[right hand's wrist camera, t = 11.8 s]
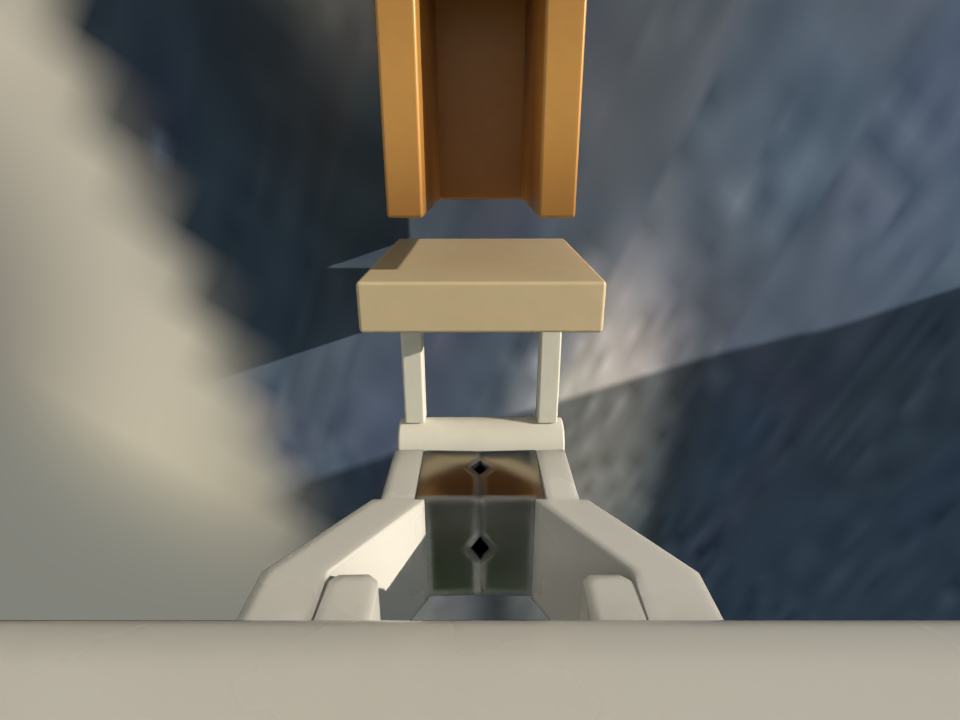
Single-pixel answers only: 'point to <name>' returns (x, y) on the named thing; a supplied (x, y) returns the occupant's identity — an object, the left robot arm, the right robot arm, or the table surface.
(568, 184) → the drawer
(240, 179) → the table surface
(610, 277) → the table surface
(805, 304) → the table surface
